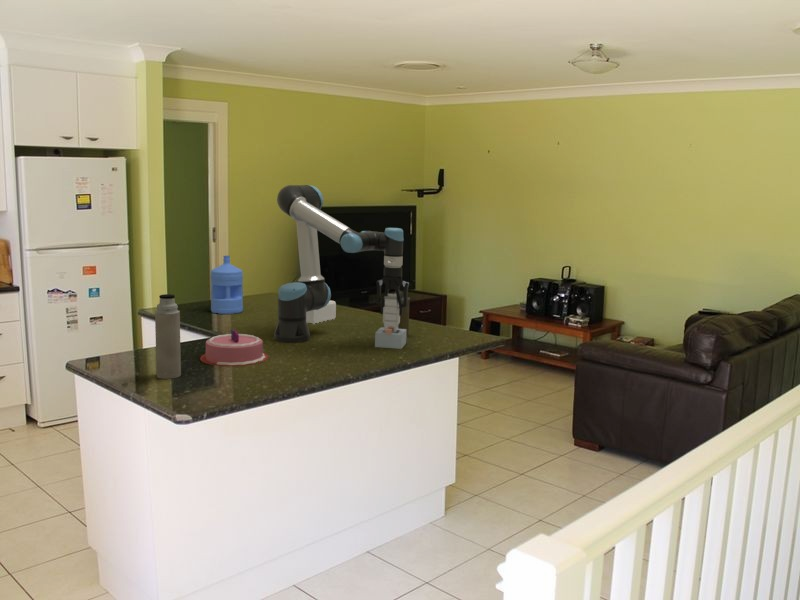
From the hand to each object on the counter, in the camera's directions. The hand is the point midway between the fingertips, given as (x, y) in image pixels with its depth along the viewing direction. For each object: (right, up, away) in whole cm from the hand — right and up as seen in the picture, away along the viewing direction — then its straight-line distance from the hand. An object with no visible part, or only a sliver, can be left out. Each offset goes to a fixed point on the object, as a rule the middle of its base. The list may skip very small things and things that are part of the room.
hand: (391, 322), depth 300 cm
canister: (+2, -7, +21) cm, 23 cm away
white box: (-40, 0, +54) cm, 67 cm away
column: (0, -8, +1) cm, 8 cm away
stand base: (0, -10, +2) cm, 10 cm away
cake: (-59, -13, -23) cm, 65 cm away
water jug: (-83, +3, +66) cm, 106 cm away
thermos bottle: (-76, -17, -49) cm, 92 cm away
